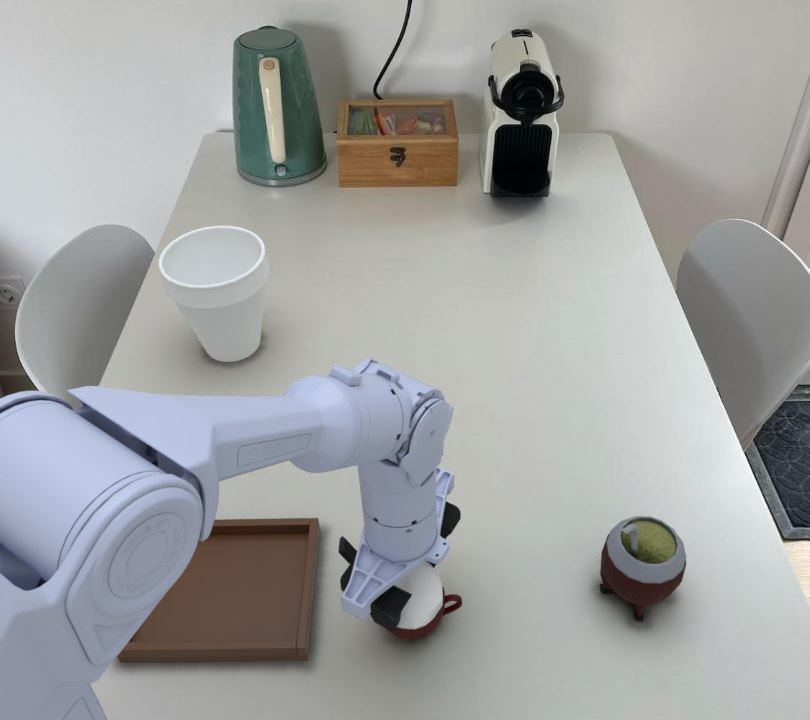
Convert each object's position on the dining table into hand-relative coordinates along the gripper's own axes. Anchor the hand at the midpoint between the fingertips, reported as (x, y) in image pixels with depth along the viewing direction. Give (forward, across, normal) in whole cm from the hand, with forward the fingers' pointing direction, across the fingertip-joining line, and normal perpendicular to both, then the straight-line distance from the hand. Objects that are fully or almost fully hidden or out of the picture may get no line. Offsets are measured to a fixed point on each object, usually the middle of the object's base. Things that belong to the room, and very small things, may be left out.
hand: (405, 593), depth 71 cm
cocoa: (+4, 0, 0) cm, 4 cm away
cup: (+4, +22, +38) cm, 44 cm away
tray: (+4, -6, +16) cm, 18 cm away
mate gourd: (+4, +12, -17) cm, 21 cm away
